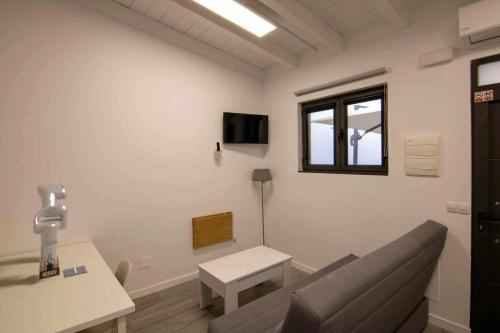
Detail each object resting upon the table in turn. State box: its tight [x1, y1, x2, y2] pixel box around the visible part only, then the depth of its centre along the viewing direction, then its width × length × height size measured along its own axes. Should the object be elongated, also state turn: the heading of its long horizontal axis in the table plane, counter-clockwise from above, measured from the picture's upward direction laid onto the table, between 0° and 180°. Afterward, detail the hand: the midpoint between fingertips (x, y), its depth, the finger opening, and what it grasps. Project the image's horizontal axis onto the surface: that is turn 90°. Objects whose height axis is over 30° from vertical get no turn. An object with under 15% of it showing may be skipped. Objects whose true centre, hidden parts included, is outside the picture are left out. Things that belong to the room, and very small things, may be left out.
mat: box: [63, 265, 88, 278], centre depth 174 cm, size 14×12×1 cm
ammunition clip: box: [38, 257, 61, 281], centre depth 166 cm, size 11×2×12 cm, turn 137°
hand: (49, 268), depth 166 cm, fingers open, 9 cm apart
